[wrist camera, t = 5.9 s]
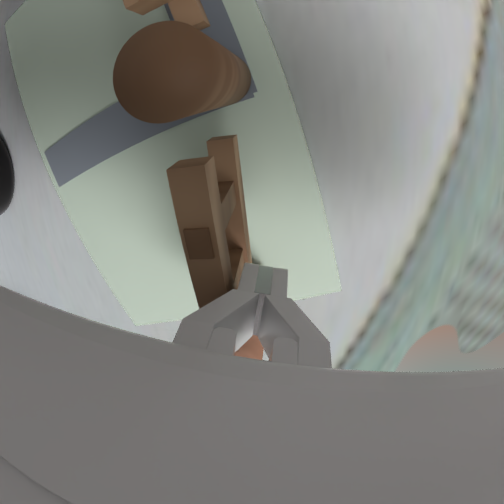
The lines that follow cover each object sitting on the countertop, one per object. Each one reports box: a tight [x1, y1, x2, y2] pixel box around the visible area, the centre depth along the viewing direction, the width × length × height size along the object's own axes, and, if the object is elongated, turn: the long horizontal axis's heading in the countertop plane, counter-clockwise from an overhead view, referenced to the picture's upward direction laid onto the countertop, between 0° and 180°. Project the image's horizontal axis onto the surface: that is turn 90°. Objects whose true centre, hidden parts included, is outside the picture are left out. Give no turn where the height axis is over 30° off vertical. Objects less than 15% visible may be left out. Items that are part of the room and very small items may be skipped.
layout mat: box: [5, 0, 342, 326], centre depth 12 cm, size 24×14×1 cm, turn 19°
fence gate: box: [166, 135, 263, 360], centre depth 11 cm, size 9×2×6 cm, turn 6°
